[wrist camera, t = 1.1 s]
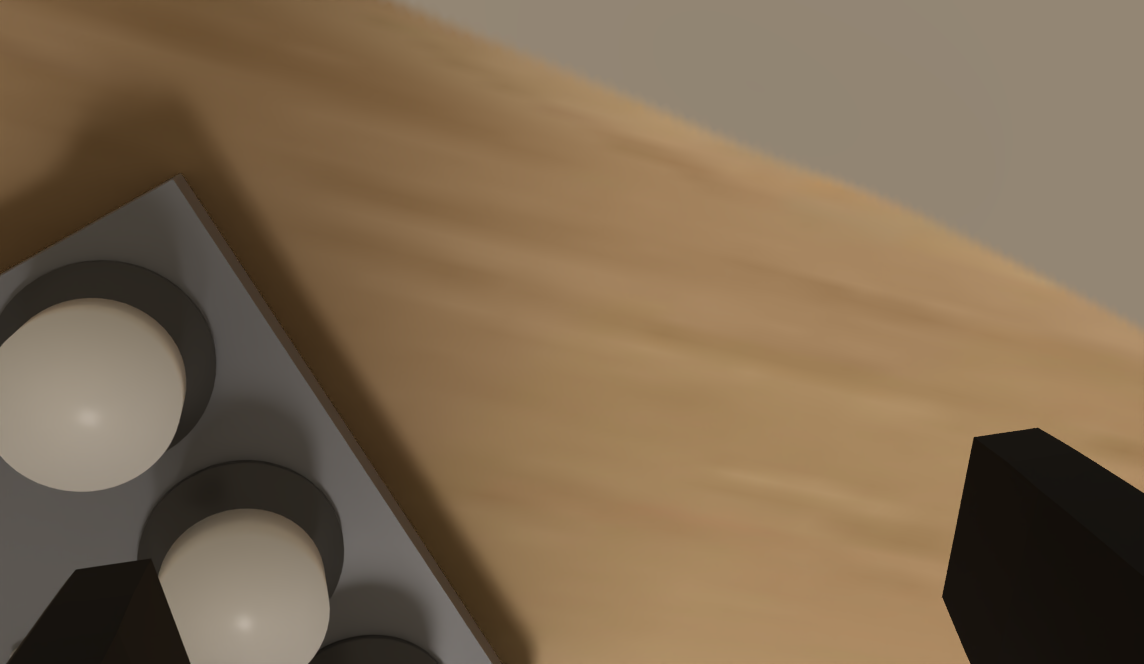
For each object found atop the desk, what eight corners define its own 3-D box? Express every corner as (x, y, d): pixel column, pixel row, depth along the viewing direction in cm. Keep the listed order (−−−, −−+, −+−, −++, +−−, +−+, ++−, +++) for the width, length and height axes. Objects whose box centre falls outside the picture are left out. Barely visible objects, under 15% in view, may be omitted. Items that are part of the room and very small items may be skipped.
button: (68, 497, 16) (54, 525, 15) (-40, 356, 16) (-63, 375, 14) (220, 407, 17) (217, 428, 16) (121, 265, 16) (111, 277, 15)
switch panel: (239, 900, 22) (238, 982, 20) (-192, 381, 18) (-250, 415, 16) (529, 705, 23) (556, 763, 21) (180, 172, 19) (171, 179, 17)
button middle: (216, 689, 18) (214, 728, 16) (123, 567, 17) (114, 600, 16) (354, 600, 18) (361, 633, 17) (269, 478, 17) (270, 503, 16)
